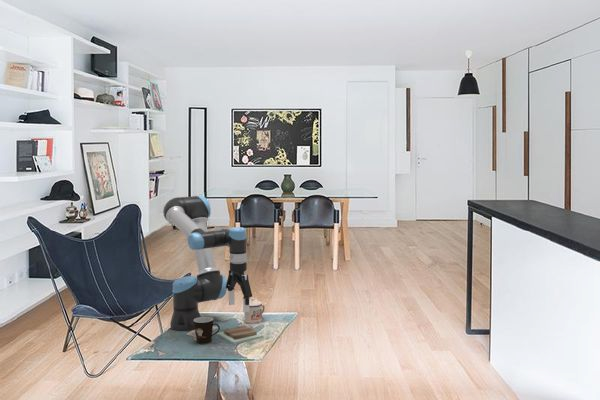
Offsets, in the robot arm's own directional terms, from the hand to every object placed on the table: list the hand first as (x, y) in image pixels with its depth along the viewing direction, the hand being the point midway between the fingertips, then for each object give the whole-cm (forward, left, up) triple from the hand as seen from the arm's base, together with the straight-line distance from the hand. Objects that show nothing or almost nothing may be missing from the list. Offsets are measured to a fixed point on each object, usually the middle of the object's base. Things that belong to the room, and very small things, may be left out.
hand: (238, 308), depth 265 cm
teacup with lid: (-17, +18, -13) cm, 28 cm away
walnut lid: (+1, 0, -12) cm, 12 cm away
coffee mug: (-2, -16, -13) cm, 21 cm away
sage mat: (0, 0, -13) cm, 13 cm away
